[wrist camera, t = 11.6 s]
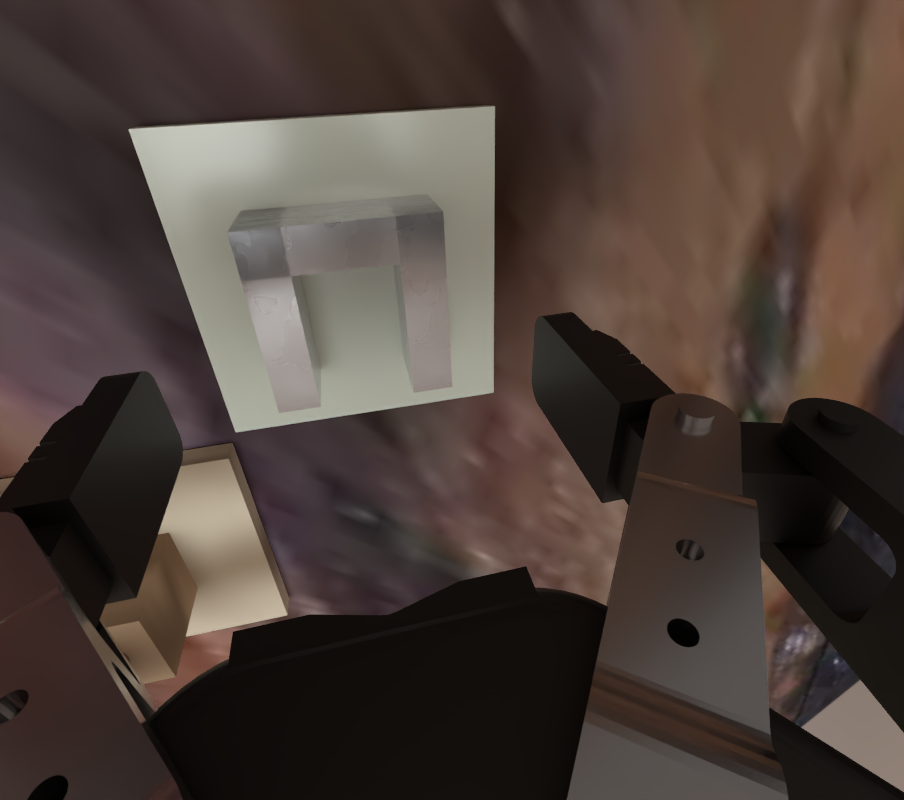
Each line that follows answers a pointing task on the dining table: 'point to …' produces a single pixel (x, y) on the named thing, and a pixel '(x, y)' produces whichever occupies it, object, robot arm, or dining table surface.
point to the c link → (336, 249)
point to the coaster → (340, 292)
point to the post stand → (198, 567)
